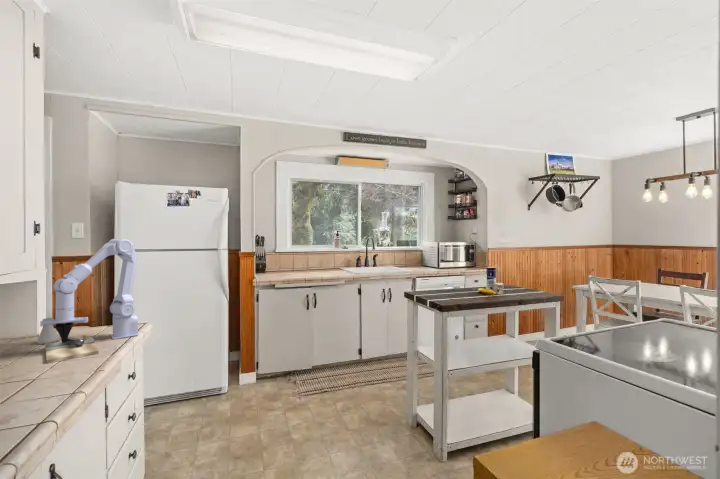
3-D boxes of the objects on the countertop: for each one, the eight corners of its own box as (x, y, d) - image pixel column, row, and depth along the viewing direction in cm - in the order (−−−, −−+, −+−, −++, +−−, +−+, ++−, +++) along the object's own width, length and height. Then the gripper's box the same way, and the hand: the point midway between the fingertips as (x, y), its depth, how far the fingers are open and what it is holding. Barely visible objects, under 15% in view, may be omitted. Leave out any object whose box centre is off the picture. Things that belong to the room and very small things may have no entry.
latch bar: (86, 343, 141) (86, 339, 141) (77, 345, 138) (77, 341, 138) (68, 339, 145) (68, 336, 145) (59, 342, 142) (59, 338, 142)
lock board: (91, 340, 152) (91, 331, 151) (98, 353, 135) (98, 343, 135) (45, 348, 141) (45, 338, 141) (46, 363, 125) (46, 352, 125)
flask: (48, 344, 146) (48, 320, 145) (31, 344, 146) (31, 320, 146) (63, 339, 153) (63, 316, 153) (47, 339, 153) (47, 316, 153)
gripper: (89, 305, 147) (89, 337, 147) (44, 308, 140) (43, 341, 140) (86, 308, 141) (85, 341, 141) (38, 311, 134) (38, 346, 134)
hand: (64, 342), depth 140 cm, fingers closed
